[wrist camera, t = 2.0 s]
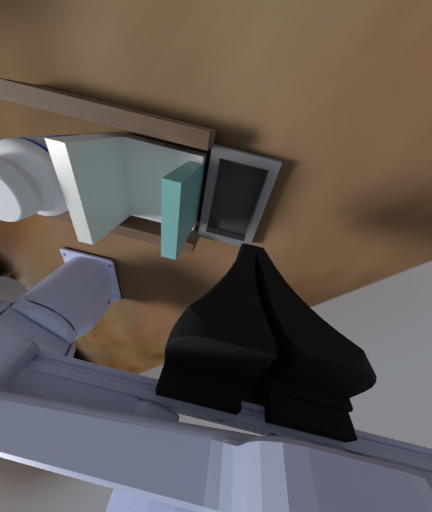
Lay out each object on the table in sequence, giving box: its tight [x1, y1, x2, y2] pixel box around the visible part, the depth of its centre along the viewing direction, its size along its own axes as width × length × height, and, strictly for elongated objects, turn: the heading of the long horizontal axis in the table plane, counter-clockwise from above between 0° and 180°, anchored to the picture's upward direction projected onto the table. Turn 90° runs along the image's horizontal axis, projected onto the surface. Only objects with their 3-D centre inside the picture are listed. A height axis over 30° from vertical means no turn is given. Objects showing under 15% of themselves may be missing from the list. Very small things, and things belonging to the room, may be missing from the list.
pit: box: [198, 144, 282, 247], centre depth 18 cm, size 9×6×2 cm, turn 169°
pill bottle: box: [0, 135, 75, 222], centre depth 15 cm, size 5×5×10 cm
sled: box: [45, 132, 207, 260], centre depth 15 cm, size 7×8×8 cm
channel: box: [0, 78, 217, 253], centre depth 17 cm, size 11×16×4 cm
